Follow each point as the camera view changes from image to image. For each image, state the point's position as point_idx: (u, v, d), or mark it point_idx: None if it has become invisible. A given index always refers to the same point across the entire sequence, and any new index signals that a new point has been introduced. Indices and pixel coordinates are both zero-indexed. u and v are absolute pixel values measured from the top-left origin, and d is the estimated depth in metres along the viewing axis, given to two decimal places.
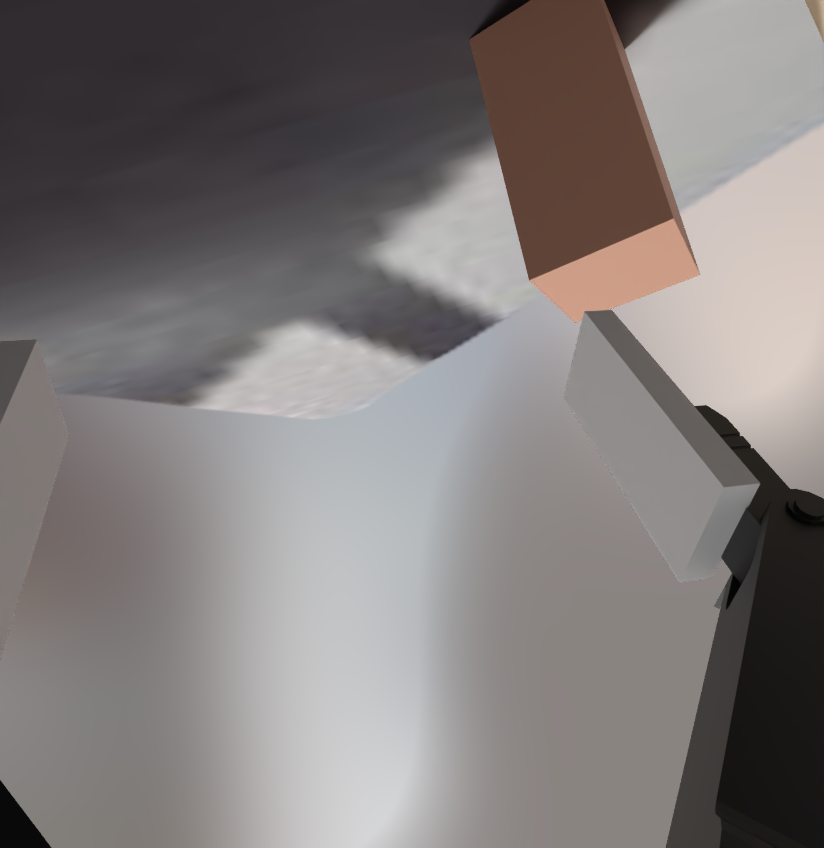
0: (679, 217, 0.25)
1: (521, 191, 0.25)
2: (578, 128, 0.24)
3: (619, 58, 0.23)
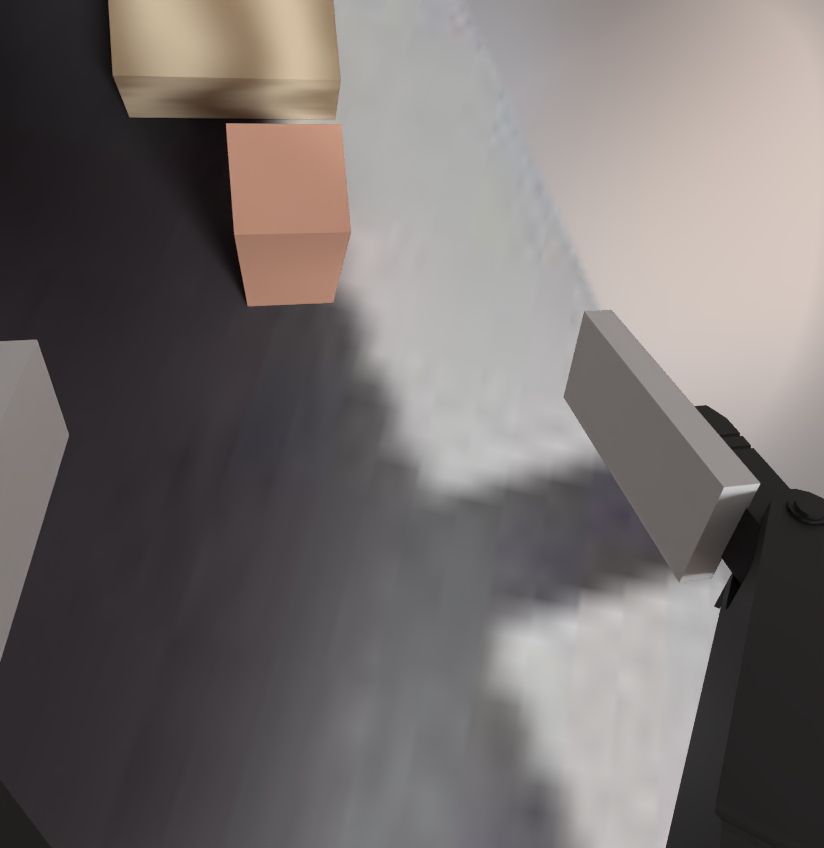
0: None
1: None
2: None
3: None
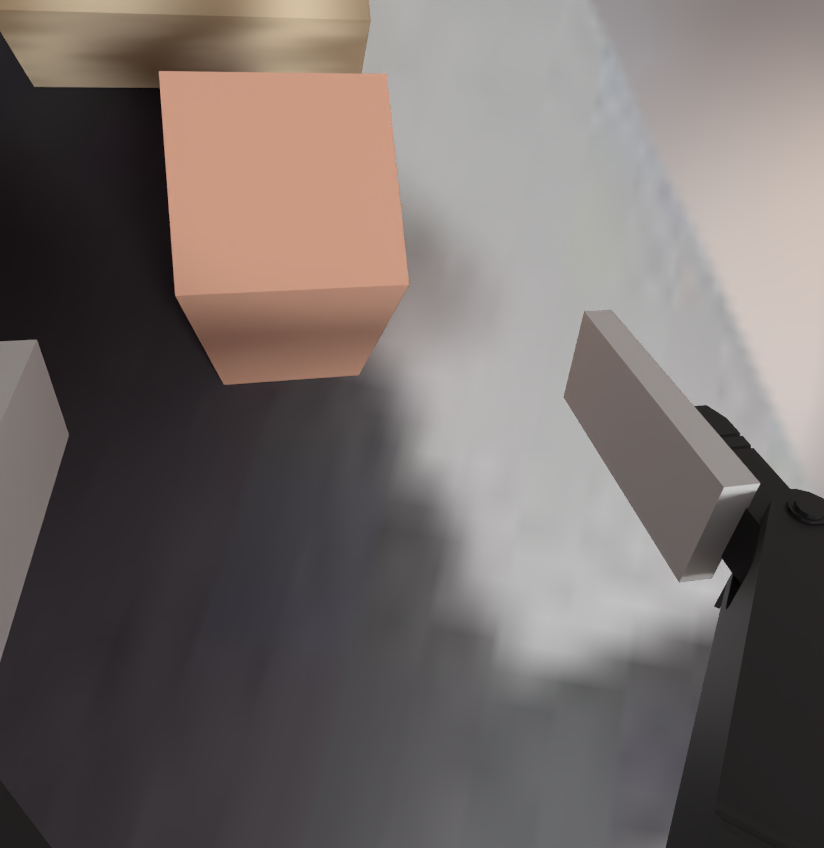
0: None
1: None
2: None
3: None
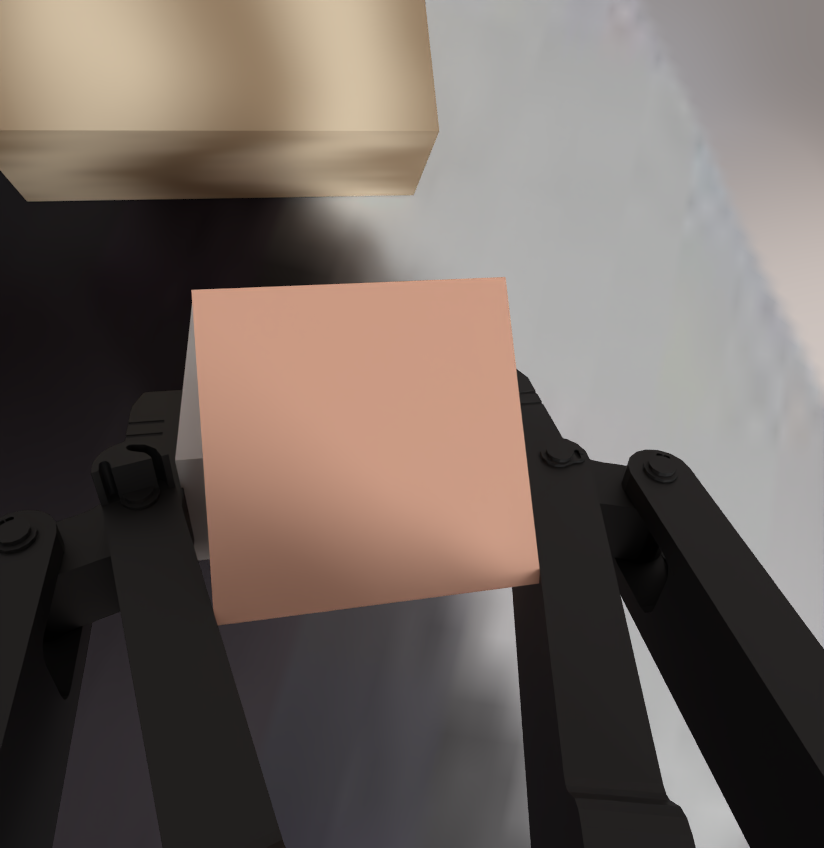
0: None
1: None
2: None
3: None
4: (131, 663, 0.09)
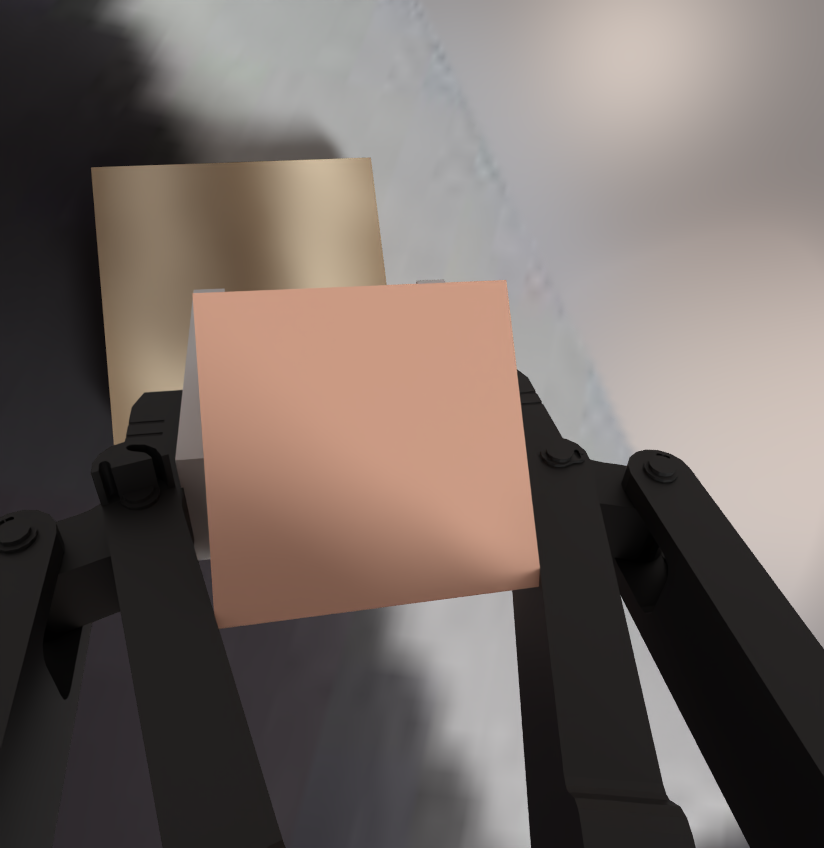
0: None
1: None
2: None
3: None
4: (131, 663, 0.09)
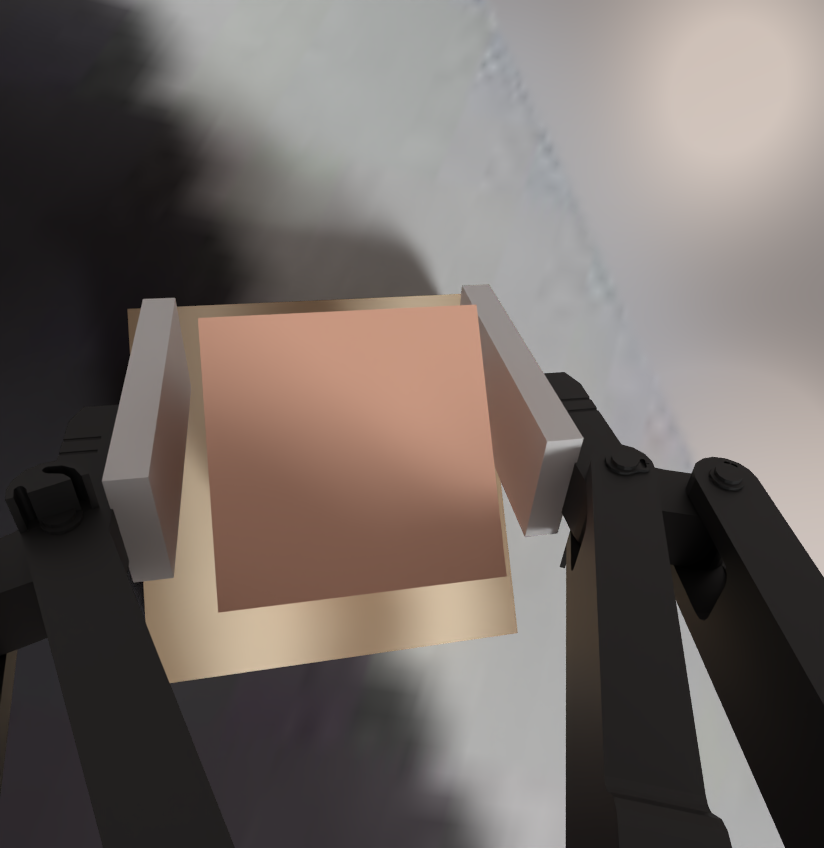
0: None
1: None
2: None
3: None
4: (64, 694, 0.09)
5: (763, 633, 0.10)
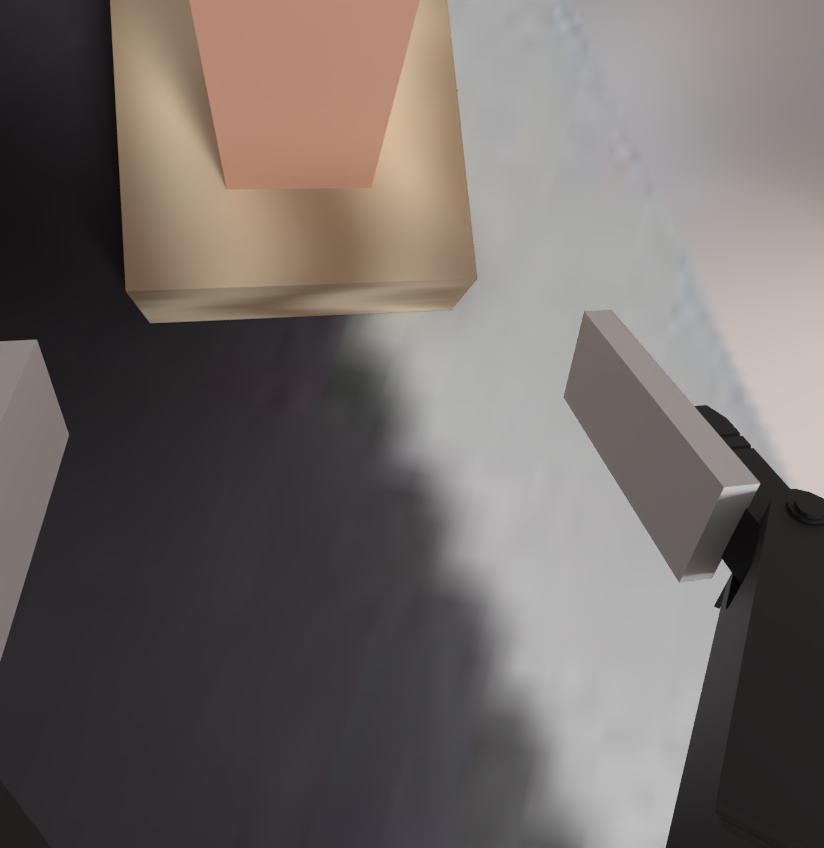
0: None
1: None
2: None
3: None
4: None
5: None
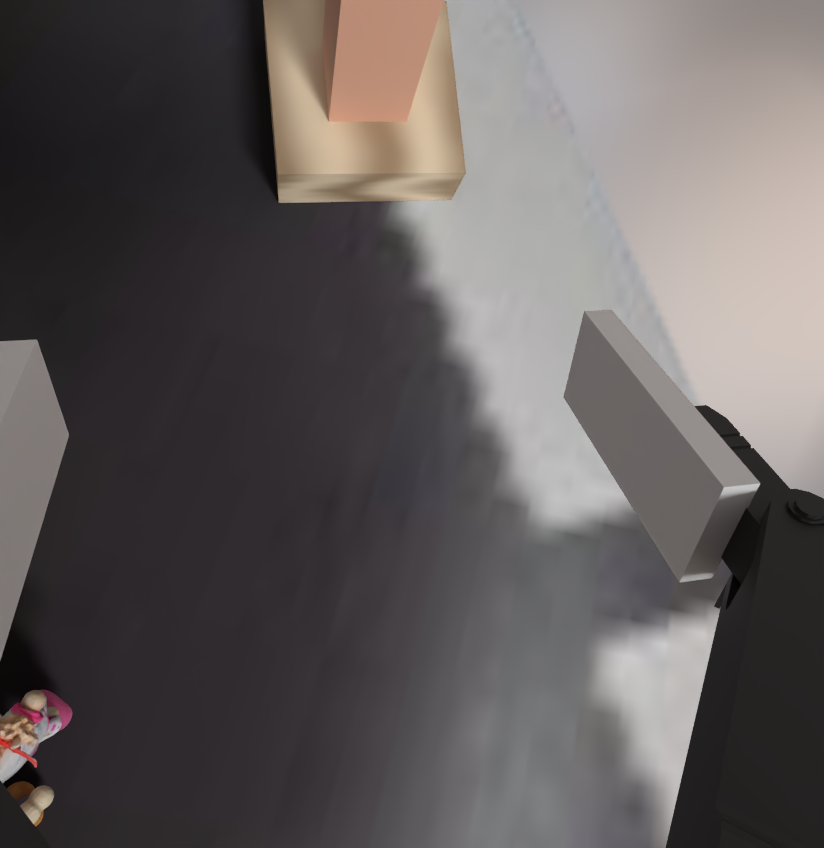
0: None
1: (336, 32, 0.35)
2: (330, 5, 0.37)
3: None
4: None
5: None
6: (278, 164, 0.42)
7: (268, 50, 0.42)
